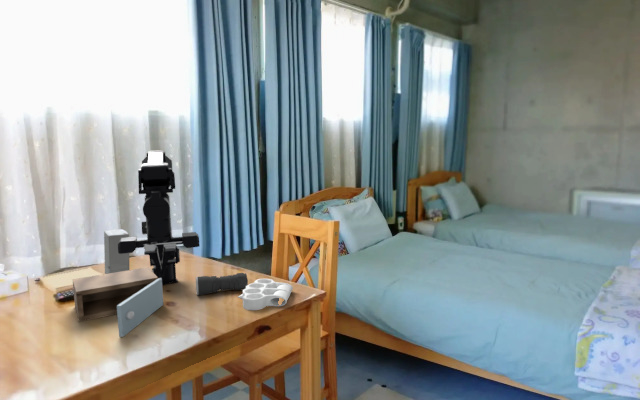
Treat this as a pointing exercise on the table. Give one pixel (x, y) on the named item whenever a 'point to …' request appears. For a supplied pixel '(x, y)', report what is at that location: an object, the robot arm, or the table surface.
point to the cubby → (108, 291)
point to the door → (139, 306)
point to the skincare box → (115, 252)
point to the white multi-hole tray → (265, 294)
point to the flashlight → (220, 283)
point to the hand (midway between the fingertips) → (162, 275)
